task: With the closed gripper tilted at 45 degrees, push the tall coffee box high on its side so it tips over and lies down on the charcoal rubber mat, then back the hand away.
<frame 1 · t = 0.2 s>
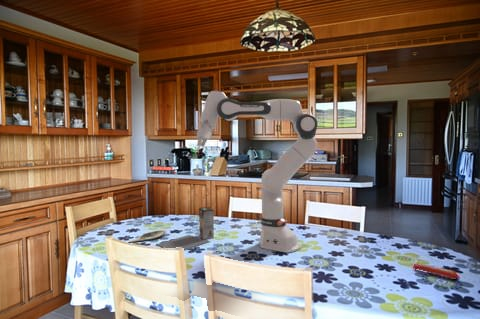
hand: (200, 146, 166), 51 cm above the table, tool tilted 20°, fingers open, 8 cm apart
sausage: (435, 275, 128), on the table
coffee box: (206, 236, 181), on the table
spoon: (138, 242, 174), on the table
rubber mat: (183, 243, 169), on the table
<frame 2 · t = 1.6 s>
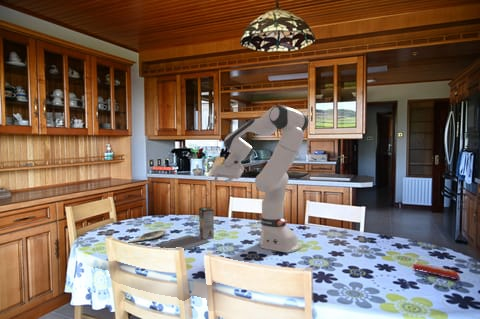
hand: (220, 182, 188), 30 cm above the table, tool tilted 45°, fingers open, 8 cm apart
nothing on the table moved.
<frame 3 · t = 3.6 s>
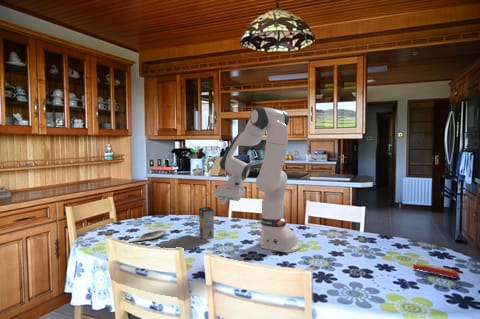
hand: (221, 203, 189), 17 cm above the table, tool tilted 45°, fingers closed
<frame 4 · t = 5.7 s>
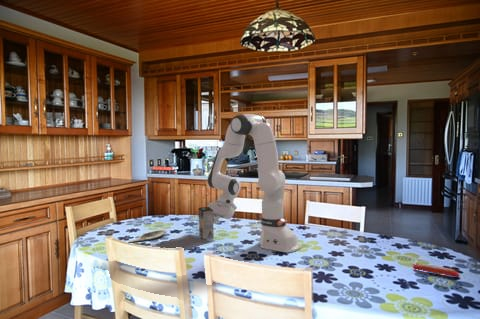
hand: (212, 222, 184), 7 cm above the table, tool tilted 45°, fingers closed
coffee box: (206, 236, 181), on the table, touching gripper
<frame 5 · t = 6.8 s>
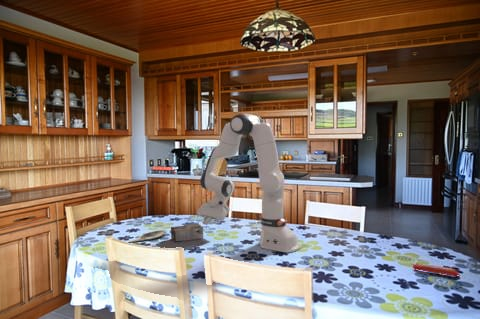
hand: (204, 224, 180), 7 cm above the table, tool tilted 45°, fingers closed
coffee box: (201, 230, 180), point 4 cm above the table, touching rubber mat
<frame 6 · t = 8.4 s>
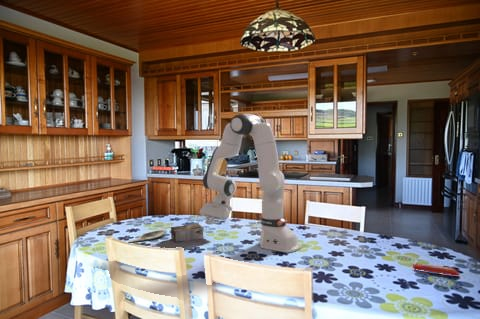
hand: (207, 223, 181), 7 cm above the table, tool tilted 45°, fingers closed
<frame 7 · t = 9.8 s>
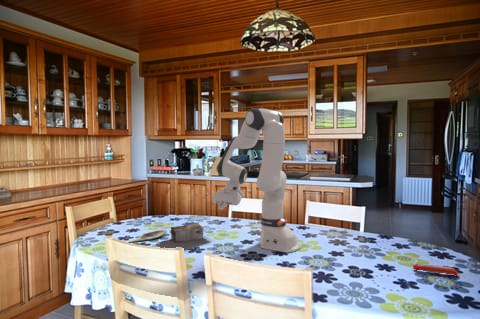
hand: (220, 209, 188), 14 cm above the table, tool tilted 45°, fingers closed
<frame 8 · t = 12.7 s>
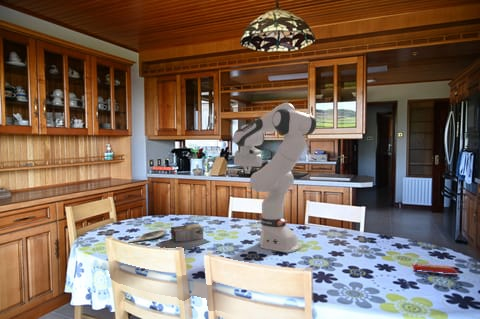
hand: (247, 173, 197), 34 cm above the table, tool pointing down, fingers closed
at the end: coffee box tilted 90°; coffee box touching rubber mat; the gripper is holding nothing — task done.
